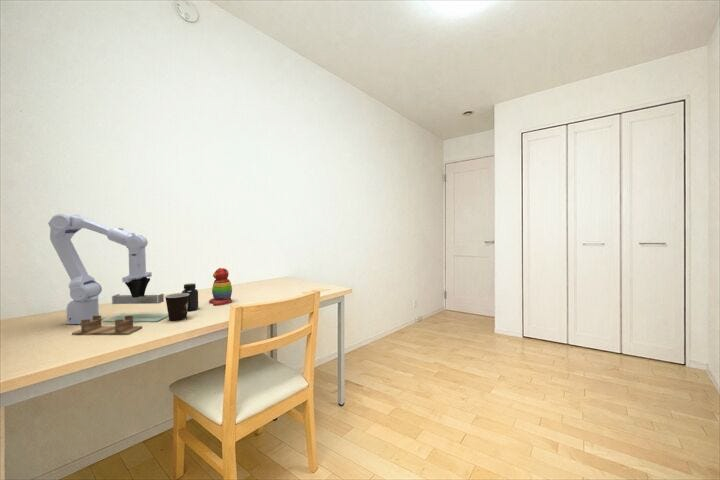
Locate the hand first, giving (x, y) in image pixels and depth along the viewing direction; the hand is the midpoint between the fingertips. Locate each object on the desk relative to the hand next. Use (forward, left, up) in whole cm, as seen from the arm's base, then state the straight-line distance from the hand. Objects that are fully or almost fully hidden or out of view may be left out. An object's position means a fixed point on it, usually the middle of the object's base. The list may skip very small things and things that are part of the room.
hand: (138, 296), depth 128 cm
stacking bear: (+23, +27, -10) cm, 37 cm away
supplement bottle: (+14, +14, -10) cm, 22 cm away
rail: (0, 0, -3) cm, 3 cm away
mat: (0, 0, -9) cm, 9 cm away
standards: (0, -16, -9) cm, 19 cm away
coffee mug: (+17, +1, -10) cm, 20 cm away
